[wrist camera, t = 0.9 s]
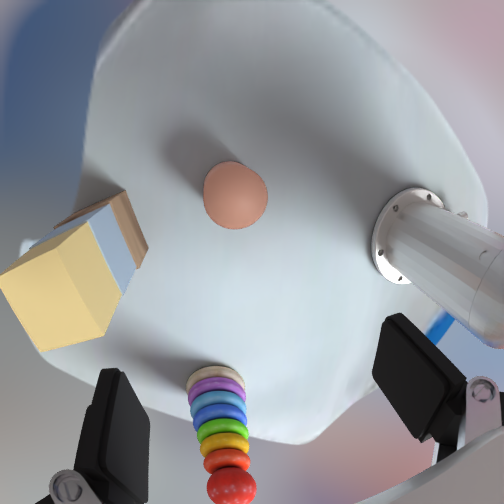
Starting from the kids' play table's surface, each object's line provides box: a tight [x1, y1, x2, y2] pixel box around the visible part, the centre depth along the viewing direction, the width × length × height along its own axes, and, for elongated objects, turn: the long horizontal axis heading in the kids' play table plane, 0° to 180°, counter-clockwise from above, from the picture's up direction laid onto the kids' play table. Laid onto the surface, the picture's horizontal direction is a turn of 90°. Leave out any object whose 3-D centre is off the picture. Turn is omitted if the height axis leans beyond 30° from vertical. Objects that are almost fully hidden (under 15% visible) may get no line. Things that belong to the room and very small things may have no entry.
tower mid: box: [29, 204, 137, 296], centre depth 21 cm, size 6×6×5 cm
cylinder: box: [203, 161, 268, 229], centre depth 25 cm, size 5×5×6 cm
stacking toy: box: [186, 366, 256, 504], centre depth 28 cm, size 8×8×19 cm
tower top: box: [0, 222, 122, 352], centre depth 16 cm, size 6×6×5 cm
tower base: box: [54, 190, 148, 270], centre depth 25 cm, size 6×6×5 cm
